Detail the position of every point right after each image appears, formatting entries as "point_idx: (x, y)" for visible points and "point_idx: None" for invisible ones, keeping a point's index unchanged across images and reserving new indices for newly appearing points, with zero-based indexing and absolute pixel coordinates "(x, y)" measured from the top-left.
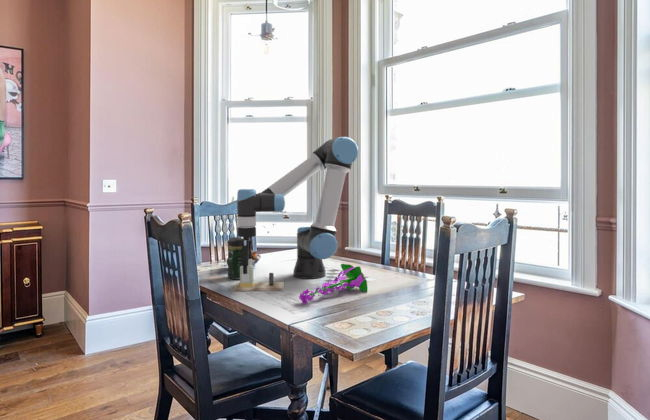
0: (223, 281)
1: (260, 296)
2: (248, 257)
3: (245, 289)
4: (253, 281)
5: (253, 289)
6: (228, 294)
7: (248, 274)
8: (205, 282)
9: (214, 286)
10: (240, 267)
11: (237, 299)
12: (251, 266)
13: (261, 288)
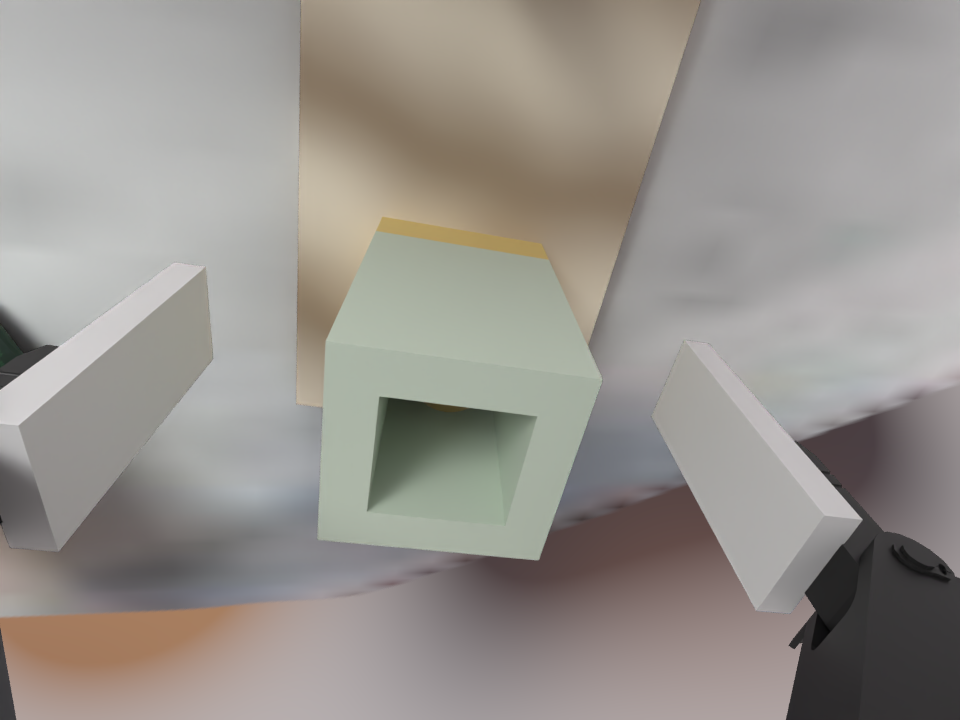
0: (130, 491)
1: (898, 173)
2: (935, 705)
3: (589, 322)
4: (379, 226)
5: (620, 234)
6: (654, 457)
7: (757, 405)
8: (181, 603)
9: (336, 548)
10: (522, 554)
11: (859, 397)
12: (482, 389)
13: (656, 130)
